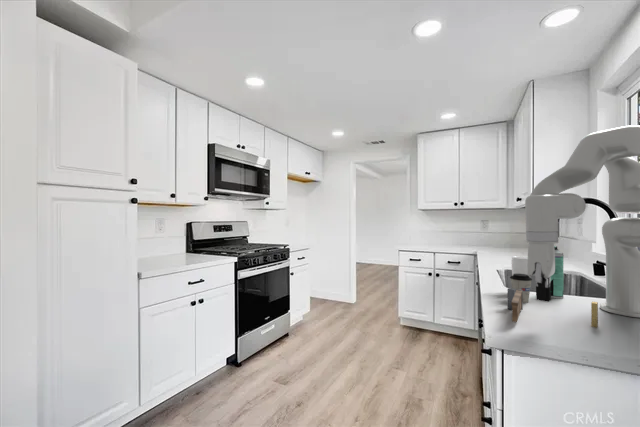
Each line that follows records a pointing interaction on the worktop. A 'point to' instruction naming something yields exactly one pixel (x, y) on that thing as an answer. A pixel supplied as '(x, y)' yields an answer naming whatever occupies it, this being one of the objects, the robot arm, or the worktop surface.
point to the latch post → (594, 314)
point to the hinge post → (510, 297)
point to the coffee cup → (522, 284)
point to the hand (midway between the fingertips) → (543, 300)
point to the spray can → (557, 276)
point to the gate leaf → (517, 304)
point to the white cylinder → (519, 265)
